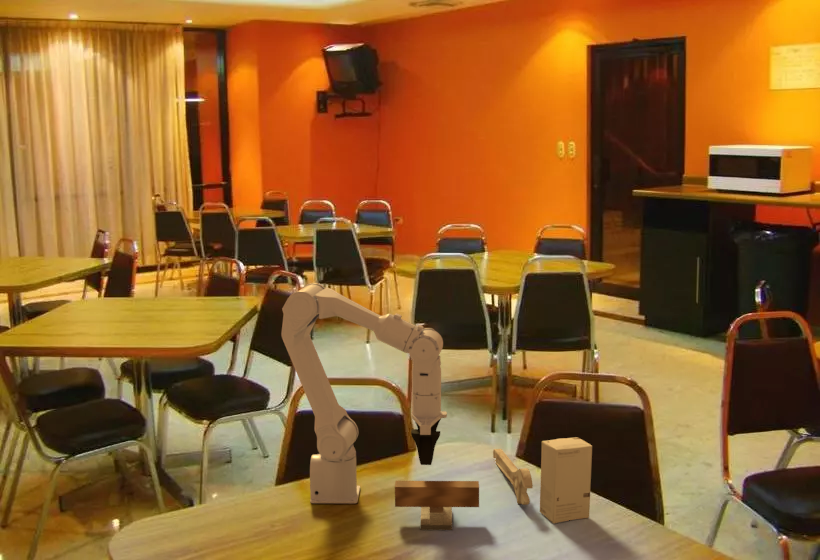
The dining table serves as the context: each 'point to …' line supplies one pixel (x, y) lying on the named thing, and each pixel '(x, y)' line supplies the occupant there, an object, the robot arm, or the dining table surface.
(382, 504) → the dining table surface
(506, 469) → the wrench
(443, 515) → the ridge
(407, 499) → the walnut bar
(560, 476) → the skincare box
